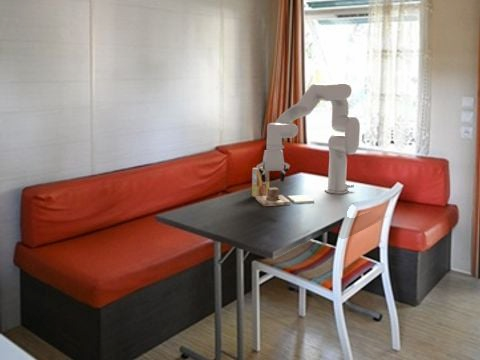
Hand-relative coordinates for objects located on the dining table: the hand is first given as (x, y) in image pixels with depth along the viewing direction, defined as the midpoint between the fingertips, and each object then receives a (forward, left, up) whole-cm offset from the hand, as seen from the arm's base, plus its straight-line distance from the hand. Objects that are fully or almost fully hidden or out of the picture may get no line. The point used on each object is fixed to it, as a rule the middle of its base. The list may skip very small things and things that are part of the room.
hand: (272, 181), depth 273 cm
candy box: (+2, -13, -11) cm, 17 cm away
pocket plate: (0, 0, -11) cm, 11 cm away
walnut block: (0, 0, -11) cm, 11 cm away
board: (-15, 0, -11) cm, 19 cm away
